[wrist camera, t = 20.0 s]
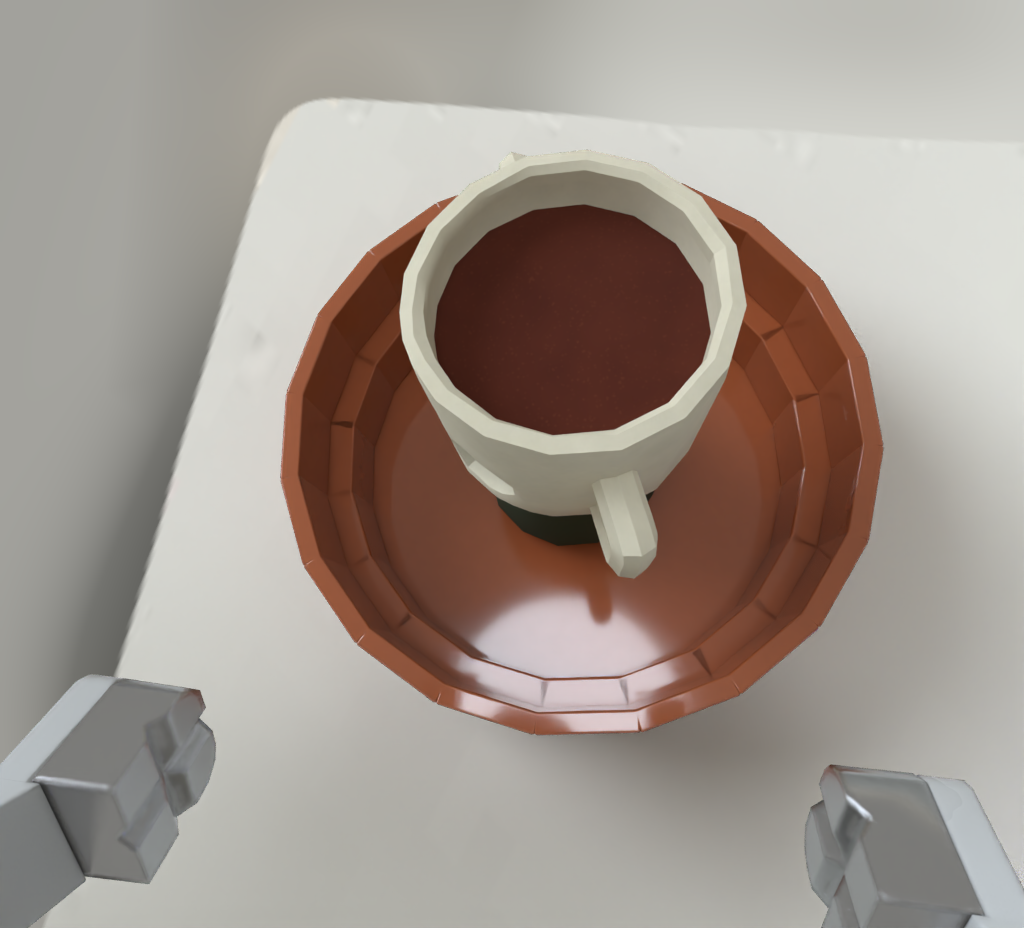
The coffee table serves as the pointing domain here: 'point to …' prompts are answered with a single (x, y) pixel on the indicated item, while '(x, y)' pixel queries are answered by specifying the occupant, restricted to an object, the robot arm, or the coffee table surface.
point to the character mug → (574, 339)
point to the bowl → (583, 568)
